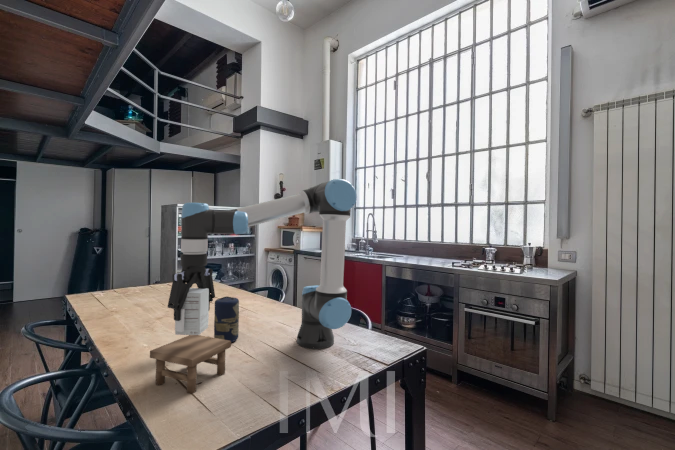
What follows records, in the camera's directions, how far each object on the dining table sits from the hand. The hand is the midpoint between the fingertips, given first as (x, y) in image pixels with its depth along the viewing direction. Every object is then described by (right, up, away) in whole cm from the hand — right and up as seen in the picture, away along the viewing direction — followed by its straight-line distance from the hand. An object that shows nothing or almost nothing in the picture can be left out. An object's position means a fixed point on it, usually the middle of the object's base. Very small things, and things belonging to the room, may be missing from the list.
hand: (192, 326), depth 99 cm
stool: (0, -16, 0) cm, 16 cm away
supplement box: (0, -2, 0) cm, 2 cm away
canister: (-1, -16, +32) cm, 36 cm away
